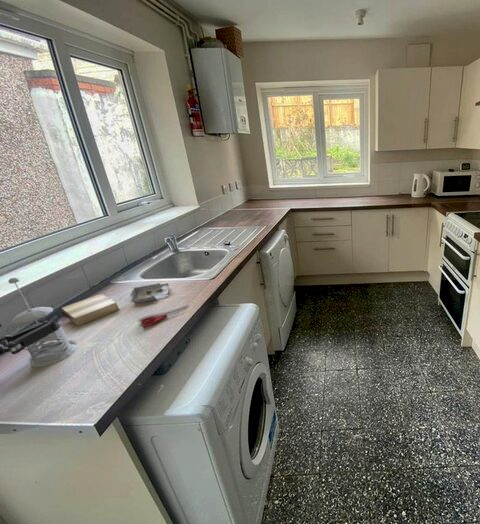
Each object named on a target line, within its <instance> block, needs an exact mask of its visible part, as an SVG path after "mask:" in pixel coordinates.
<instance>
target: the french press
mask: <svg viewBox="0 0 480 524" xmlns="http://www.w3.org/2000/svg"><path fill="white" fill-rule="evenodd" d="M7 281H8V284H14V285H15V287H16V288H17V290H18V292H19V295H21V298H22V299H23V301H24V303H25V305H26V306H27V309H26V310H24V311H22V312H19V313H18V314H17V315H16V316H14V317H13V318H12V319H11V320H10V322H11V324H12V325H10V326H9V327H8V328H7V329H6V330H5V332H4V336H5V335H8V333H9V332H10V330H11V329H14V330H15V331H18V330H19V326H18V325H25V324H29V323H33V322H35V323H34V324H31V325H30V326H28V327H26V328H25V329H27V328H30V327H32V326H34V325H37V324H39V323H40V322H38V321H40V320H42V319H43V318H45V317H46V316H47V315H48V314H50V313H51V312H52V311H53V310H54V308H53V307H49V306H37V307H33V308H31V307H30V306H29V304H28V302H27V301H26V299H25V296H24V294H23V293H22V292H21V290H20V287H19V285H18V284H17V283H19V282H20V279H19V277H11V278H9V279H8V280H7ZM56 325H57V327H58V330H57V331H55V332H53V333H51V334H49V335H48V336H46V337H44V338H42V339H40V340H38V341H37V342H35V343H33V344H31V345H29V346H27V347H26V348H24V349H23V350H26V351H27V352H28V353H29V355H30V356H31V358H32V361H31V363H30V365H31V367H34V368H43V367H47V366H50V365H55V364H56V363H59V362H61V361H63V360H65V359H67V358H69V357H70V356H72V354H74V353H75V352H76V350H77V349H78V347H77V345H76V344H73V343H70V341H69V339H68V337H67V335H66V333H65V331H64V329H63V327H62V326H61V324H58V322H57V323H56ZM3 342H4V343H5V344H6V346H7V345H8V343H7V341H6V340H3ZM46 342H47V343H46ZM23 350H22V351H23Z"/></svg>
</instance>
